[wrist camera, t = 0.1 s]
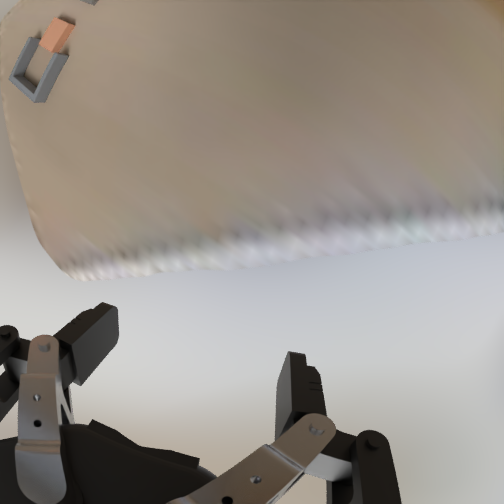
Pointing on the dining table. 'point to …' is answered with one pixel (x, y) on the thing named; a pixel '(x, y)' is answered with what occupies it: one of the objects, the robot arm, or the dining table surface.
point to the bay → (47, 79)
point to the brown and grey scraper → (90, 1)
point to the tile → (56, 35)
